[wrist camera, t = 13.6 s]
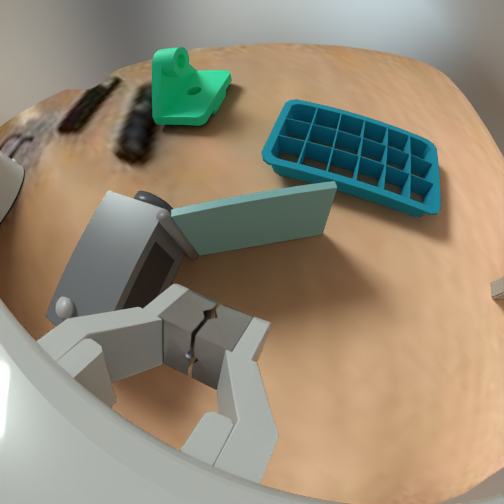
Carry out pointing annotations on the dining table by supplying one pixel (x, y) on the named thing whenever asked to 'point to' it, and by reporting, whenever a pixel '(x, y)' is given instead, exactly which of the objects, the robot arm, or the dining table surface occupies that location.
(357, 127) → the ice cube tray
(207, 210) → the side door
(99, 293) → the action camera
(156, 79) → the camera mount
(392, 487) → the dining table surface
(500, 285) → the architectural model
